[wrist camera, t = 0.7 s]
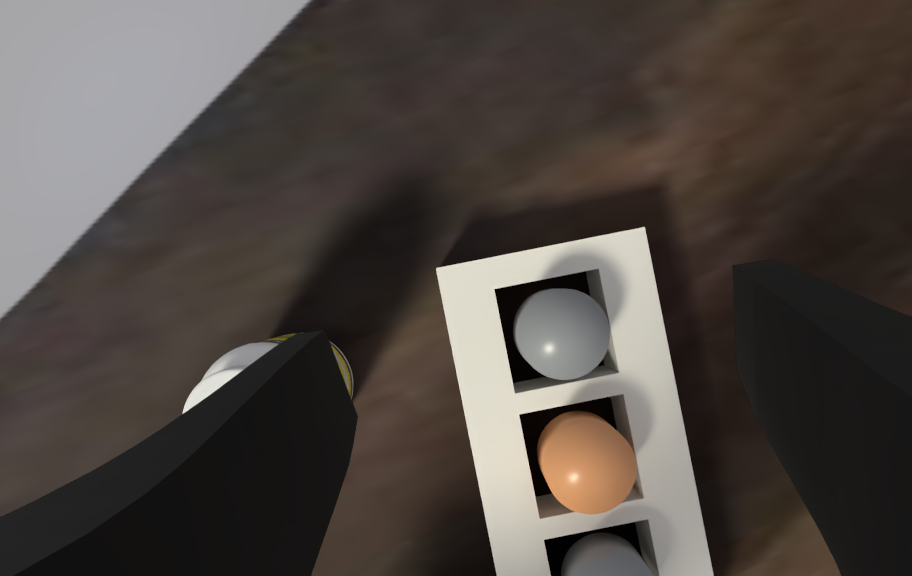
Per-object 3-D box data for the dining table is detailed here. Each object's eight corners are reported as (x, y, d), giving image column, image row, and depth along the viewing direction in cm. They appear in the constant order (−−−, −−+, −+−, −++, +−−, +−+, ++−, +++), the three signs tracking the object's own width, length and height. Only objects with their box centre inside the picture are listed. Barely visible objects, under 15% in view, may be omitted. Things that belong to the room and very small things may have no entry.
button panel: (702, 611, 32) (727, 644, 29) (512, 649, 32) (518, 685, 29) (627, 232, 32) (644, 226, 29) (437, 270, 32) (435, 268, 29)
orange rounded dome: (626, 484, 30) (644, 504, 27) (545, 500, 30) (554, 522, 27) (610, 403, 30) (626, 415, 27) (529, 419, 30) (537, 432, 27)
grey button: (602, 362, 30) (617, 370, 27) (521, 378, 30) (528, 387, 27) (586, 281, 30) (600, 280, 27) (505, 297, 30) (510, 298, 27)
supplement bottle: (329, 314, 32) (275, 325, 23) (371, 410, 32) (335, 463, 23) (233, 356, 32) (137, 386, 23) (276, 452, 32) (198, 523, 23)
